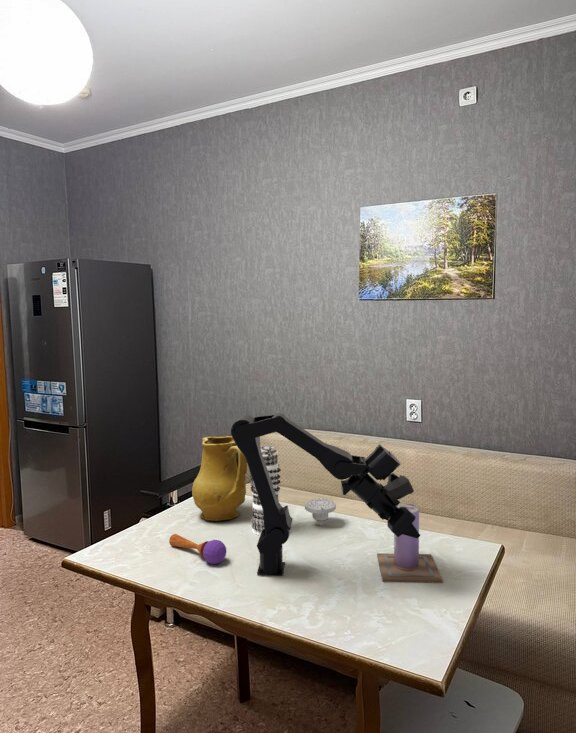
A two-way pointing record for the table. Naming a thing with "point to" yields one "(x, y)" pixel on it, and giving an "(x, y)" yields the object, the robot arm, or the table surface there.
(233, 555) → the table surface
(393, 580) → the plate
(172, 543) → the purple ball maraca
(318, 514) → the showerhead
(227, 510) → the pitcher
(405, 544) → the beverage can
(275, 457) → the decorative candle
